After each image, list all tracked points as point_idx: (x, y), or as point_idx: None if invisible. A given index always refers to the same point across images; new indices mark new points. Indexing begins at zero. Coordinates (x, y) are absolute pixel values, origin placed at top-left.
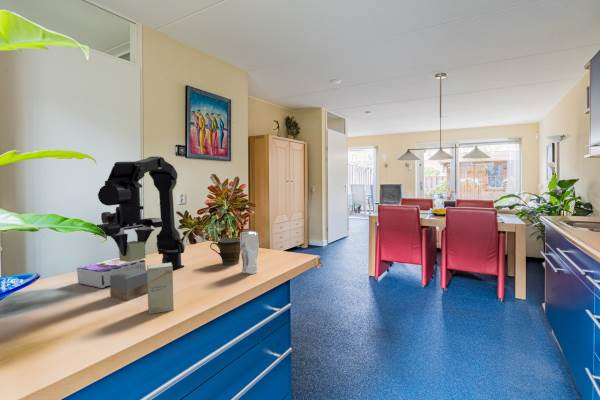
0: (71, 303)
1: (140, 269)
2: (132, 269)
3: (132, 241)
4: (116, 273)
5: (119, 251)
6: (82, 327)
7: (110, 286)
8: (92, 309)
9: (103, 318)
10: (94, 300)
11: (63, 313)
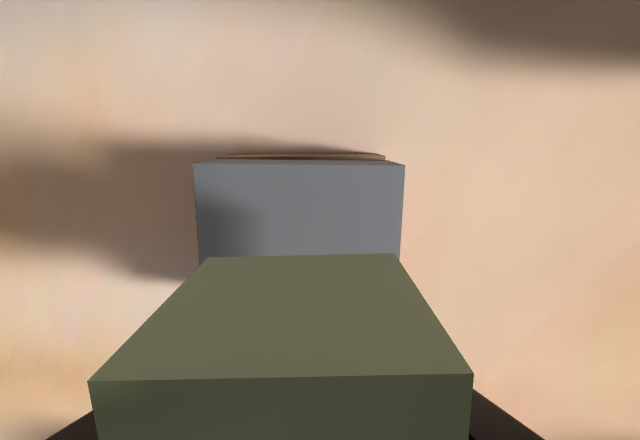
0: (78, 48)
1: (397, 242)
2: (371, 182)
3: (407, 404)
4: (242, 169)
5: (164, 310)
6: (13, 367)
7: (218, 157)
8: (106, 233)
9: (91, 362)
10: (164, 123)
11: (9, 157)
